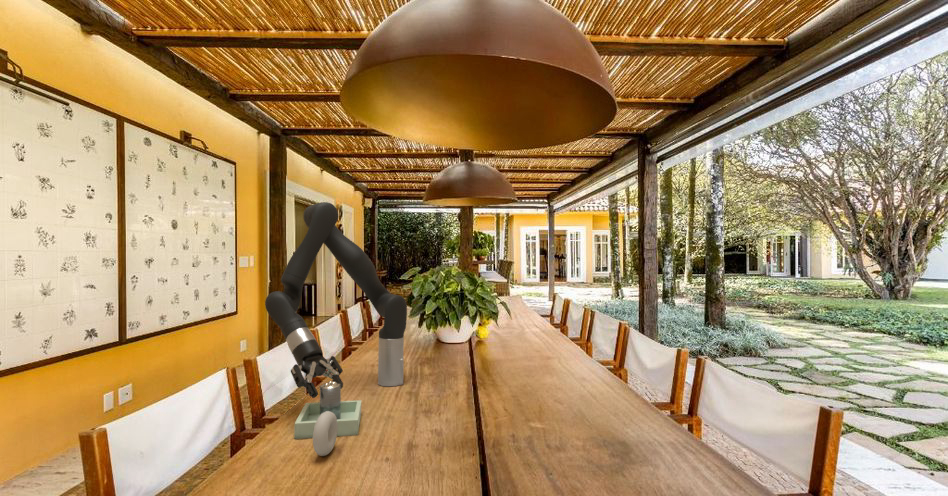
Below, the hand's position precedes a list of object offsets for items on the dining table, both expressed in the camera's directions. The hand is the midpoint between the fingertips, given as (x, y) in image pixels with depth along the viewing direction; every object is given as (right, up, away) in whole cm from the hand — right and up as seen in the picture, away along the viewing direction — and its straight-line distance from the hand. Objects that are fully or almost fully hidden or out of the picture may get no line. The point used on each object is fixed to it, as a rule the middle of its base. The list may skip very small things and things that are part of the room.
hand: (328, 392), depth 123 cm
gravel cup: (+1, -8, -1) cm, 8 cm away
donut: (+5, -9, -18) cm, 21 cm away
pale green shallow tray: (+1, -9, -1) cm, 9 cm away
